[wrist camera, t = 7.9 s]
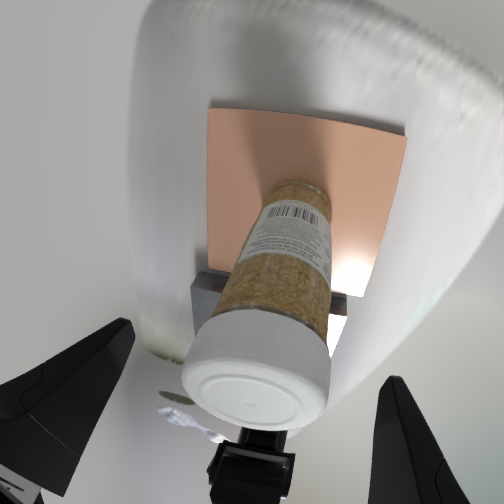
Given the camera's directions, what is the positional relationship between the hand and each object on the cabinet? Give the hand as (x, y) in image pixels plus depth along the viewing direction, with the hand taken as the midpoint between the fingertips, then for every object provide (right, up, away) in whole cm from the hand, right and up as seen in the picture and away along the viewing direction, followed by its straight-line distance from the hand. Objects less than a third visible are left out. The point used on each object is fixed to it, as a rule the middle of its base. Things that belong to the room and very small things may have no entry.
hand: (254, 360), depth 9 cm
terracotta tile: (+3, +6, +10) cm, 13 cm away
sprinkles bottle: (+3, +6, +10) cm, 12 cm away
